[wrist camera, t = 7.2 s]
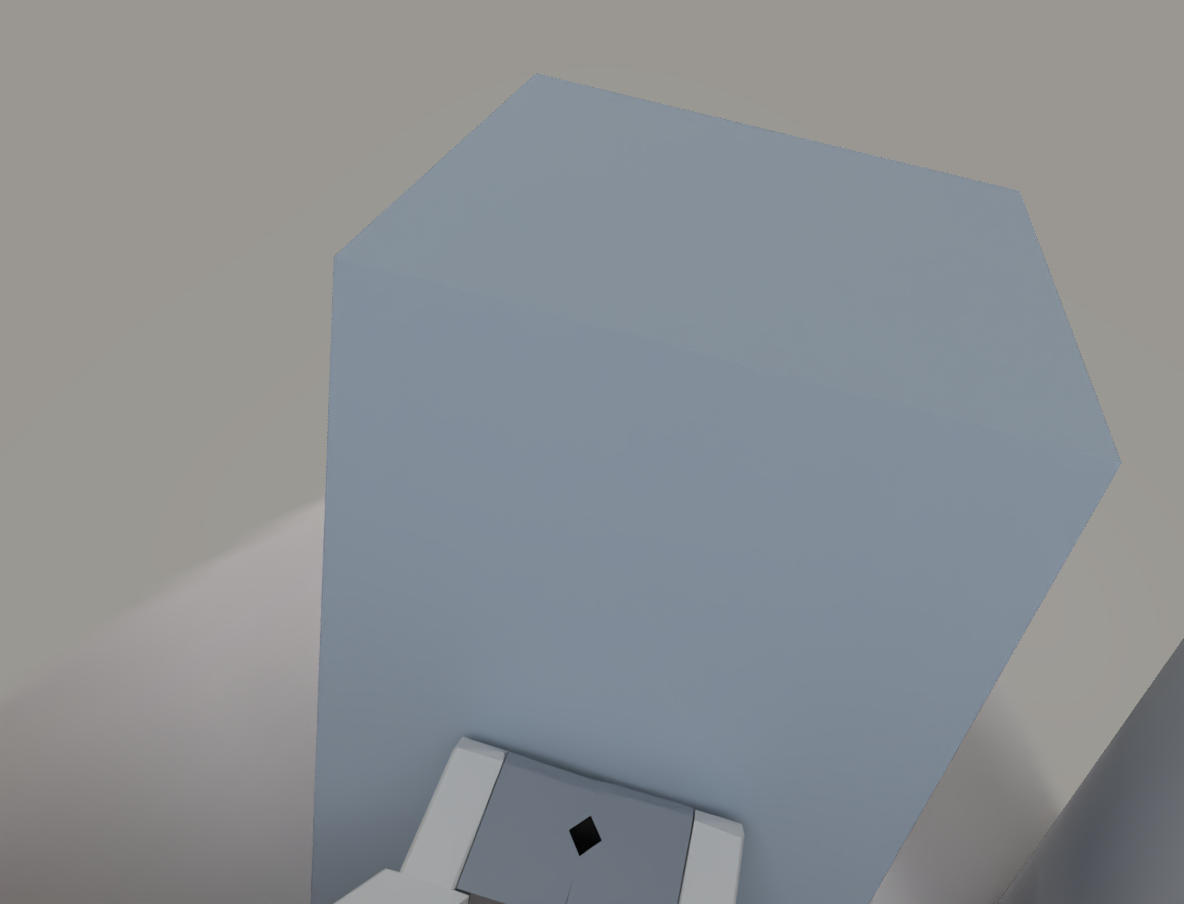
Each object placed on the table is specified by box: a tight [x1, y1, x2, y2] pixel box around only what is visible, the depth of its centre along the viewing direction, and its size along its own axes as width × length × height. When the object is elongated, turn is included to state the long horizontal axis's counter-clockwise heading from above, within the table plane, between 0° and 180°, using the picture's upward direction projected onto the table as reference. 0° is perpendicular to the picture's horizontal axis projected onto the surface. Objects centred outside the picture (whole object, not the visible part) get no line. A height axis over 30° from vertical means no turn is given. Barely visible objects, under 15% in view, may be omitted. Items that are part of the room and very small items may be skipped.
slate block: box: [311, 74, 1121, 904], centre depth 13 cm, size 6×6×11 cm
